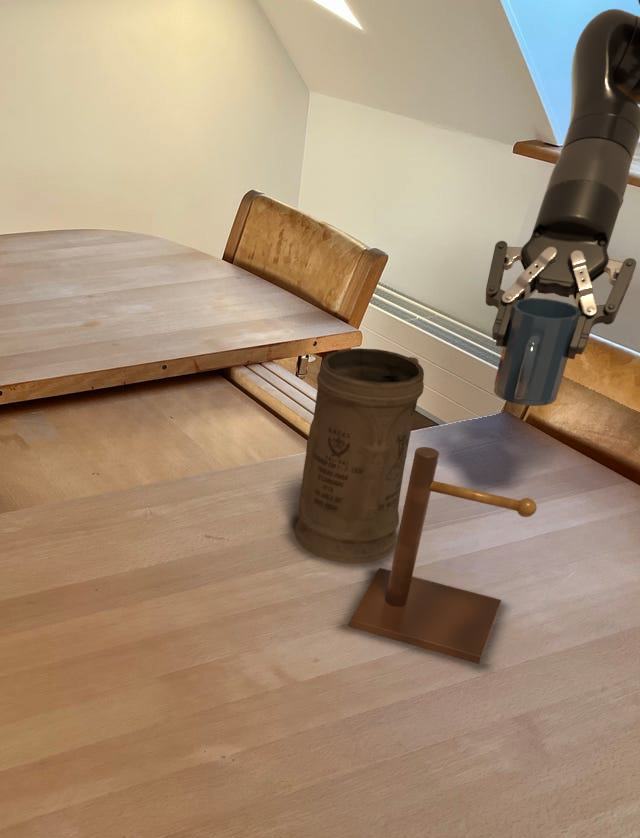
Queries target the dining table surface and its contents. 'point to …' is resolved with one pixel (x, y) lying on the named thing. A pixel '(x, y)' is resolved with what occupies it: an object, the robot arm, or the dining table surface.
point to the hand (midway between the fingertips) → (535, 348)
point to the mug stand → (424, 600)
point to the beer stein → (357, 454)
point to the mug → (535, 351)
